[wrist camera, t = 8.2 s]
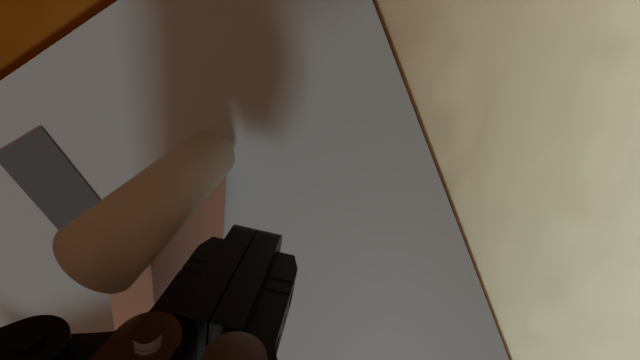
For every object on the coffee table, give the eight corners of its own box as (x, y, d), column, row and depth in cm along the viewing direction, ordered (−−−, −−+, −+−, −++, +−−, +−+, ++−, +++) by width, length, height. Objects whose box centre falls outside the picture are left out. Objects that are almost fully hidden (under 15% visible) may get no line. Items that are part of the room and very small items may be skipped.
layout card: (320, -135, 9) (318, -140, 9) (513, 371, 17) (516, 379, 16) (-155, 189, 17) (-166, 193, 16) (122, 441, 24) (118, 447, 24)
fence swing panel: (222, 364, 18) (159, 517, 12) (188, 356, 18) (111, 505, 12) (236, 135, 12) (132, 234, 7) (186, 125, 12) (45, 215, 7)
